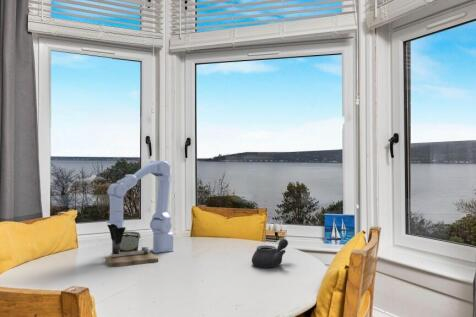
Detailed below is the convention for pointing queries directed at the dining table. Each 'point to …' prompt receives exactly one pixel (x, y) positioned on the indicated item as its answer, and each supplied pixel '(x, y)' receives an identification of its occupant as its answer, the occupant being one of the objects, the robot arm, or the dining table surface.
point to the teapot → (269, 255)
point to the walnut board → (131, 259)
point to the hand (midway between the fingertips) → (116, 241)
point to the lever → (117, 252)
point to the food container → (130, 241)
